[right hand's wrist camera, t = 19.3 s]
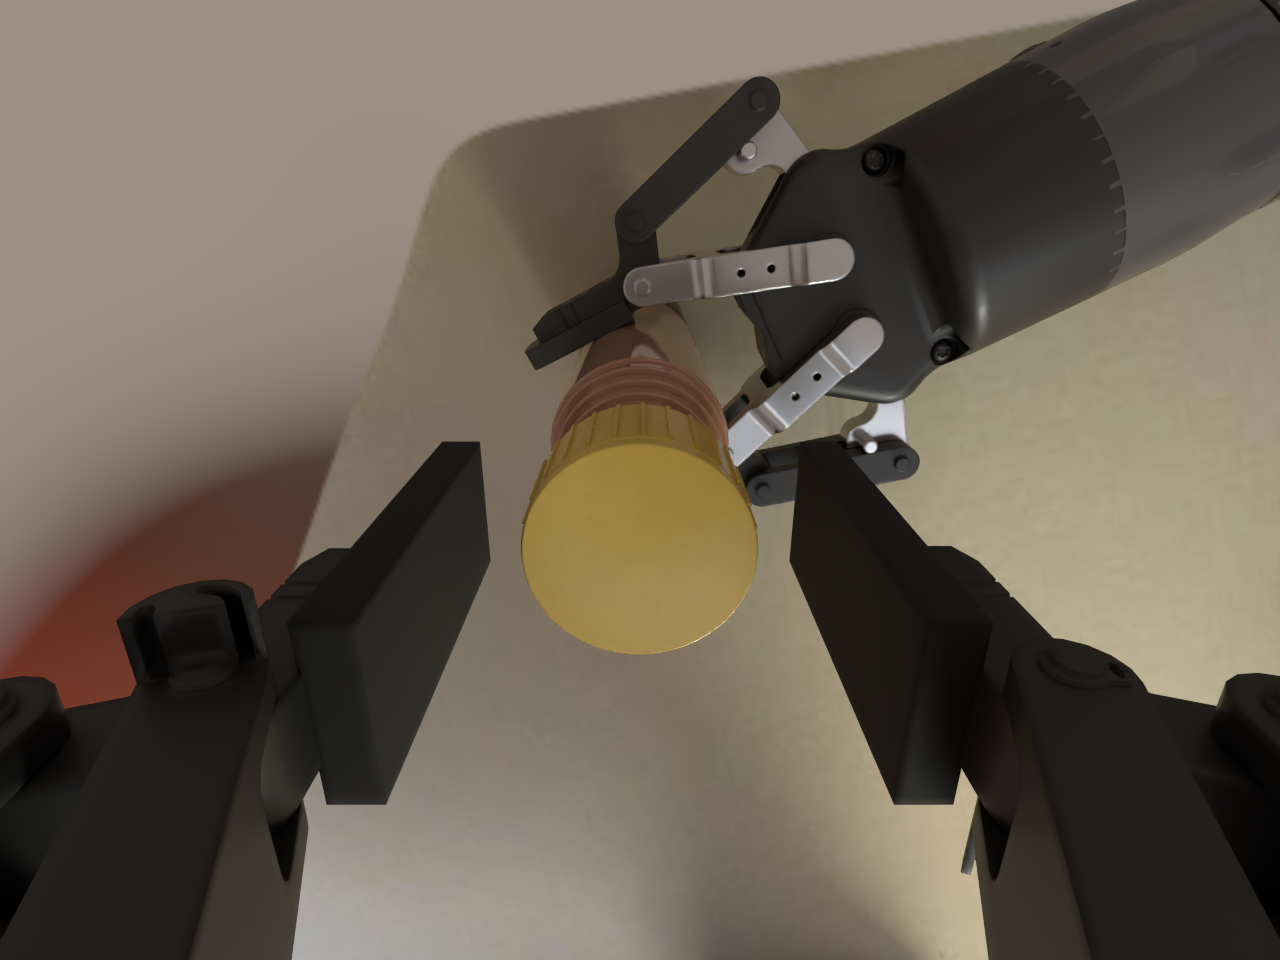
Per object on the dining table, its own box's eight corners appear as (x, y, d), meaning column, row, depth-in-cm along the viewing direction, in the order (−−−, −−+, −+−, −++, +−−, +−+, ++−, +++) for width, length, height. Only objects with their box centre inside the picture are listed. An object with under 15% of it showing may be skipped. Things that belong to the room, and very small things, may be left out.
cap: (731, 385, 14) (751, 423, 11) (750, 574, 15) (770, 642, 13) (519, 416, 14) (493, 458, 11) (558, 598, 15) (544, 670, 13)
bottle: (670, 418, 31) (708, 675, 14) (573, 383, 30) (484, 607, 13) (709, 319, 29) (807, 472, 12) (607, 281, 28) (557, 384, 11)
